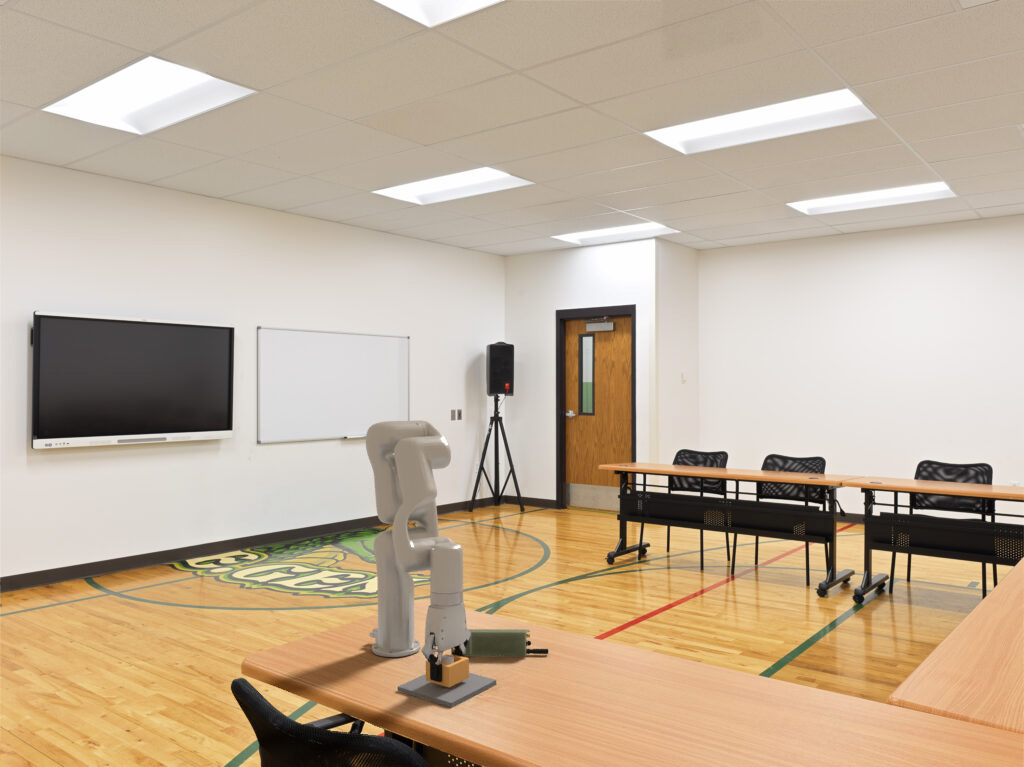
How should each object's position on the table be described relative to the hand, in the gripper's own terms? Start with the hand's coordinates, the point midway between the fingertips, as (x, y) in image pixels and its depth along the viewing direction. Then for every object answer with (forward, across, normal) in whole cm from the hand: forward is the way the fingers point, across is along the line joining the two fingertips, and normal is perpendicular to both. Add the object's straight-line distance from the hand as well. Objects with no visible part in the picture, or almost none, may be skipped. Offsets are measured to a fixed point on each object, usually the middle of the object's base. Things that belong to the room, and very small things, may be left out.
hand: (447, 674), depth 178 cm
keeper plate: (+3, 0, 0) cm, 3 cm away
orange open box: (+1, 0, 0) cm, 1 cm away
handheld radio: (+3, -24, -3) cm, 25 cm away
